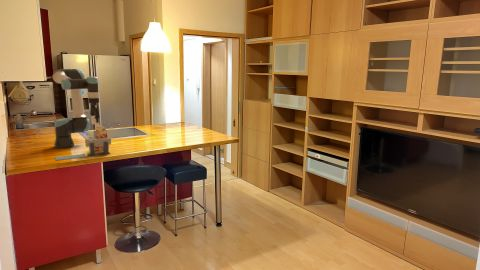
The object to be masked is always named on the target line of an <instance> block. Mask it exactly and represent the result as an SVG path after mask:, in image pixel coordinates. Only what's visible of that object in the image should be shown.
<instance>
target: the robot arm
mask: <svg viewBox="0 0 480 270" xmlns="http://www.w3.org/2000/svg"><path fill="white" fill-rule="evenodd" d="M52 80H53V81H54V82H55V83H56V84H61V88H62V90H69V91H70V96H71V106H72V113H73V116H72V117H71V119H70V117H69V118H68V117H66V118H59V119H57V120H55V121H54V133H55V140H54V144H53V146H54V148H55V149H68V148H73V147H74V146H75V142H74V139H73V138H72V134H76V133H77V134H80V133H87V132H89V130H90V125H95V128H98V127H100V126H101V125H100V118H101V116H100V112H99V105H98V104H99V103H100V93H99V91H100V90H99V79H98V77H97V76H87V77H85V74H84V71H83V69H80V68H61V69H57V70H55V71H54V72H53V74H52ZM83 90H87V93H86V95H87V97H88V98H87V100H88V103H89V105H90V108H89V109H90V112H89V114H90V119H91V120H90V119H89V118H88V116H87V115H85V108H84V100H83V97H84V96H83ZM90 121H91V122H90ZM90 123H91V124H90ZM99 125H100V126H99Z"/></svg>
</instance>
